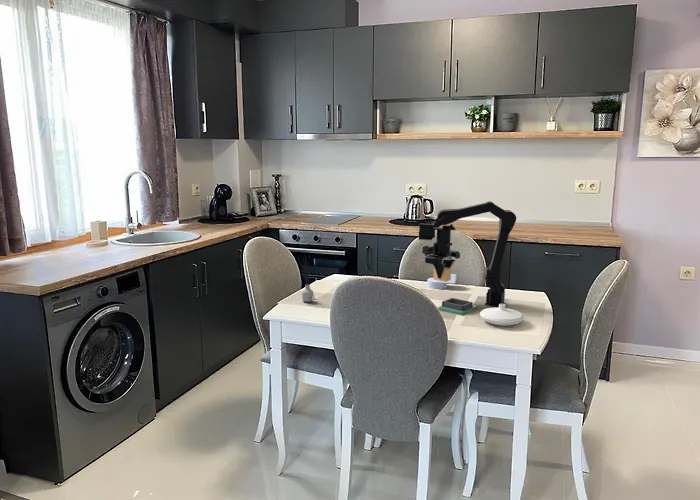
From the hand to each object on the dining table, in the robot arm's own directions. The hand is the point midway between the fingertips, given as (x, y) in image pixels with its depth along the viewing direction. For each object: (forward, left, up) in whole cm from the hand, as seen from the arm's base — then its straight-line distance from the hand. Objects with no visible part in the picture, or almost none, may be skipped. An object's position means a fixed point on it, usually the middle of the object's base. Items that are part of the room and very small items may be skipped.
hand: (442, 277), depth 230 cm
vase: (-31, +8, -11) cm, 34 cm away
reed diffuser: (+44, +36, -11) cm, 58 cm away
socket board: (-10, +4, -11) cm, 15 cm away
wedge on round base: (+13, -22, -11) cm, 28 cm away
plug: (0, 0, -1) cm, 1 cm away
